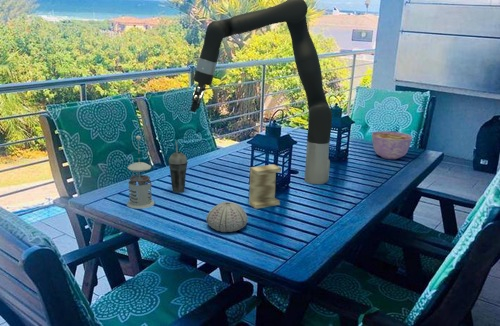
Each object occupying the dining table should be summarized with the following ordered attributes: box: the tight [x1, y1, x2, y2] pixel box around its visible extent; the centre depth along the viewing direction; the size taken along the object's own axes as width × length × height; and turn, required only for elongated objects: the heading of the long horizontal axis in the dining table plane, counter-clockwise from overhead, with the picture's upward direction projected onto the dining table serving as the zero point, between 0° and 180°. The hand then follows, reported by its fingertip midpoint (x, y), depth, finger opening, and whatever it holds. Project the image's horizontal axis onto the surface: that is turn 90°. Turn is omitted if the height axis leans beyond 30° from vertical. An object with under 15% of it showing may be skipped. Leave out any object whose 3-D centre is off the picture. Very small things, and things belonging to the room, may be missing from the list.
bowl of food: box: [371, 130, 413, 160], centre depth 242 cm, size 20×20×12 cm
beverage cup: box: [168, 141, 189, 194], centre depth 182 cm, size 7×7×20 cm
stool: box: [248, 164, 282, 210], centre depth 171 cm, size 10×5×14 cm, turn 119°
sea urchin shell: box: [205, 201, 249, 233], centre depth 153 cm, size 13×14×8 cm
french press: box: [126, 135, 155, 210], centre depth 168 cm, size 10×12×25 cm
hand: (194, 109), depth 194 cm, fingers open, 8 cm apart
